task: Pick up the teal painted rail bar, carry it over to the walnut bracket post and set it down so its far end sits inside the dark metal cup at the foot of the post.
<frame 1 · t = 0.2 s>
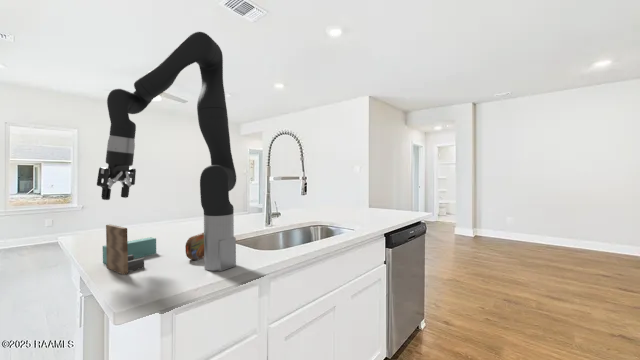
hand: (115, 198, 96), 22 cm above the worktop, tool pointing down, fingers open, 8 cm apart
tin: (200, 256, 106), on the worktop
rail: (131, 258, 104), on the worktop
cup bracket: (126, 268, 92), on the worktop
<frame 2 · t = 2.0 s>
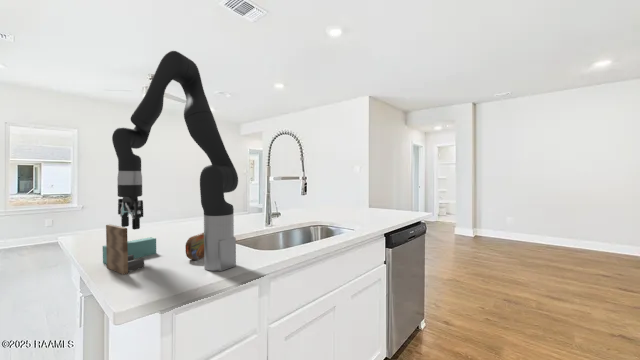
hand: (130, 227, 104), 11 cm above the worktop, tool pointing down, fingers open, 8 cm apart
nothing on the worktop moved.
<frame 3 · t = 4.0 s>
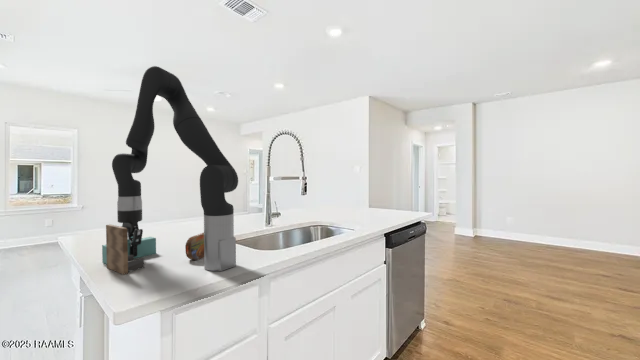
hand: (130, 255, 104), 1 cm above the worktop, tool pointing down, fingers closed on rail, 4 cm apart
rail: (130, 257, 104), on the worktop, touching gripper
everything else where it was.
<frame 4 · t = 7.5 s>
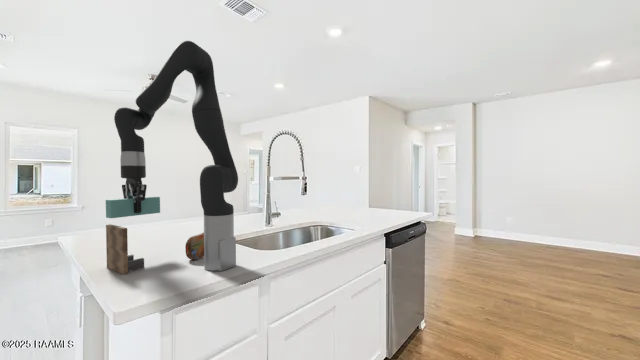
hand: (134, 212, 102), 17 cm above the worktop, tool pointing down, fingers closed on rail, 4 cm apart
rail: (134, 215, 102), point 16 cm above the worktop, touching gripper
everything else where it was.
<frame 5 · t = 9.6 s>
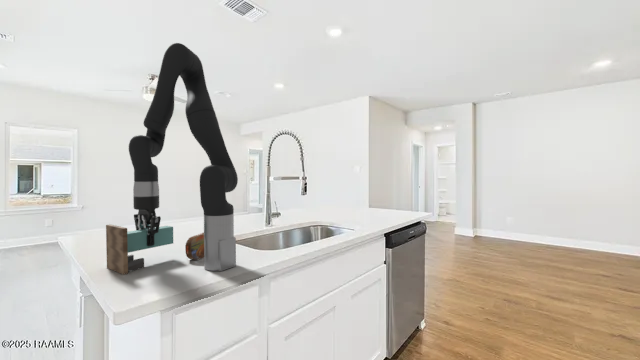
hand: (147, 244, 98), 6 cm above the worktop, tool pointing down, fingers closed on rail, 4 cm apart
rail: (147, 247, 98), point 5 cm above the worktop, touching gripper
everything else where it was.
when the fingers open (2 cm above the worktop, at t = 11.3 s): rail drops 1 cm, on the worktop.
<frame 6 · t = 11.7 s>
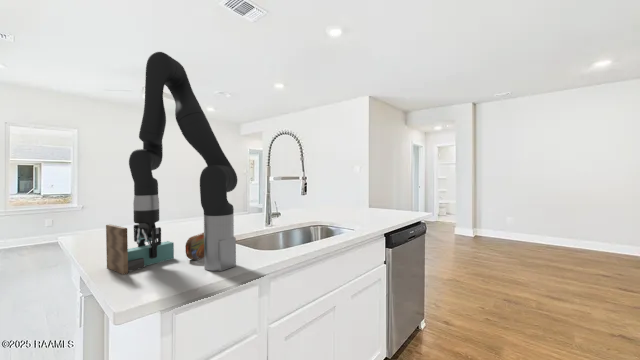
hand: (147, 256, 98), 2 cm above the worktop, tool pointing down, fingers open, 7 cm apart
rail: (147, 263, 98), on the worktop
everything else where it was.
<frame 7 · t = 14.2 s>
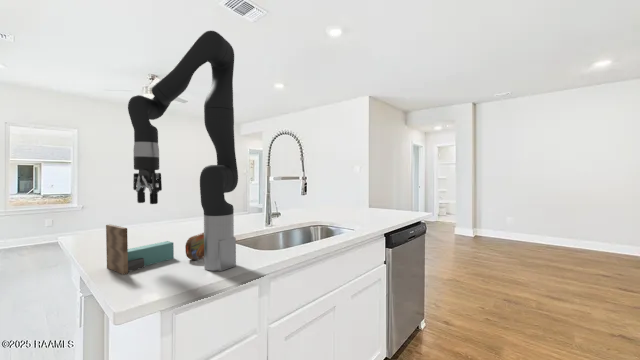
hand: (147, 203, 98), 20 cm above the worktop, tool pointing down, fingers open, 8 cm apart
nothing on the worktop moved.
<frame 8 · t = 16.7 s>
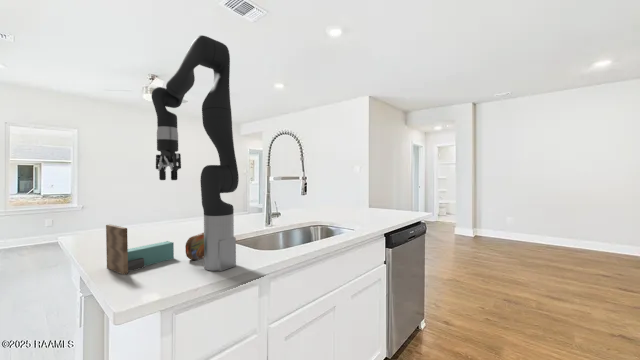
hand: (168, 180, 114), 28 cm above the worktop, tool pointing down, fingers open, 8 cm apart
nothing on the worktop moved.
at the end: rail 0.3 cm from the target spot, on the worktop; the gripper is holding nothing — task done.
